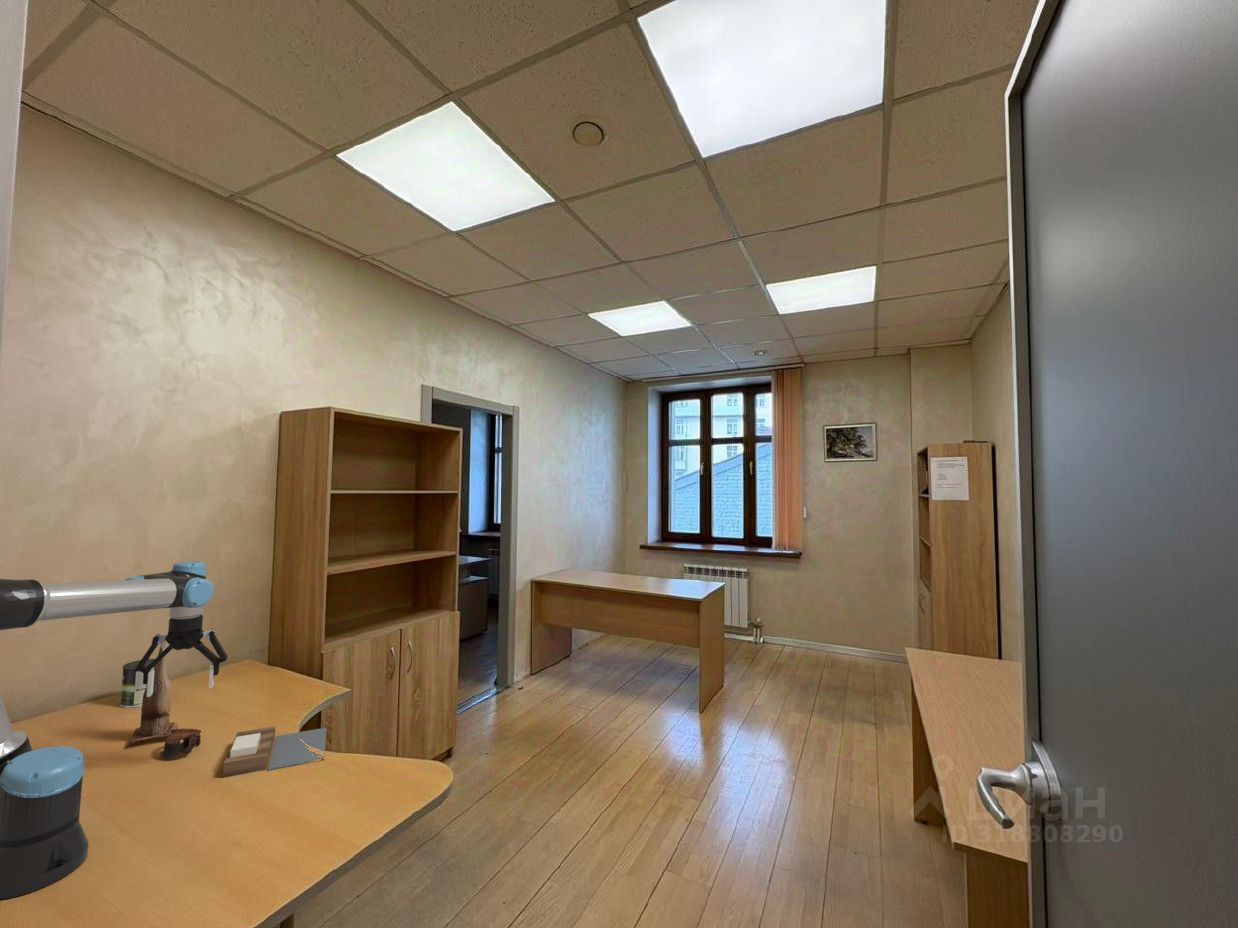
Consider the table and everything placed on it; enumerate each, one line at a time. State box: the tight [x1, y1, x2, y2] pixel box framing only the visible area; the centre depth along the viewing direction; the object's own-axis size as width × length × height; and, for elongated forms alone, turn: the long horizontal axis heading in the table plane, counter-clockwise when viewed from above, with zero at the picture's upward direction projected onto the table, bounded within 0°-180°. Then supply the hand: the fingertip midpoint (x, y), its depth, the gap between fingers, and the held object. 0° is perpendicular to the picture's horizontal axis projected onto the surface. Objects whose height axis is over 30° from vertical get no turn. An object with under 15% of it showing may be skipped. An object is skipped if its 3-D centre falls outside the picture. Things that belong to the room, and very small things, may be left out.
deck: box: [222, 725, 276, 778], centre depth 154 cm, size 20×10×4 cm, turn 28°
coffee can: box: [119, 658, 155, 709], centre depth 189 cm, size 10×10×14 cm
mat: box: [267, 727, 328, 772], centre depth 160 cm, size 22×14×1 cm, turn 28°
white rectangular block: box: [230, 733, 261, 758], centre depth 151 cm, size 9×6×2 cm, turn 28°
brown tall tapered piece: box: [125, 640, 179, 750], centre depth 164 cm, size 11×12×32 cm
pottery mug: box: [158, 728, 202, 761], centre depth 155 cm, size 12×10×8 cm
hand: (181, 690), depth 147 cm, fingers open, 13 cm apart
